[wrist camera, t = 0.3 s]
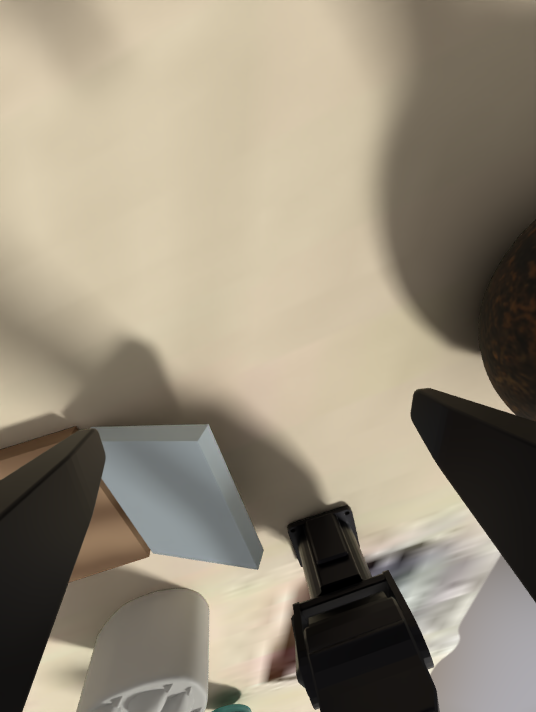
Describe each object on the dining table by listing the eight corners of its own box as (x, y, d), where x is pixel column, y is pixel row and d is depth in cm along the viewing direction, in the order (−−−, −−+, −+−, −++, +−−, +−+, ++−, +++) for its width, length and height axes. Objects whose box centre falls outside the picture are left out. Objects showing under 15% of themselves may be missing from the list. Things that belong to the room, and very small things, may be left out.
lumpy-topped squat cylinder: (84, 647, 35) (45, 773, 27) (146, 576, 32) (123, 695, 24) (169, 663, 38) (157, 778, 31) (232, 601, 35) (237, 712, 27)
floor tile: (263, 550, 26) (258, 569, 24) (162, 536, 29) (153, 553, 28) (208, 424, 20) (197, 441, 19) (91, 426, 24) (76, 441, 22)
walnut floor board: (152, 539, 30) (149, 556, 28) (25, 580, 29) (15, 599, 28) (76, 426, 24) (67, 440, 22) (-83, 475, 23) (-103, 492, 22)
